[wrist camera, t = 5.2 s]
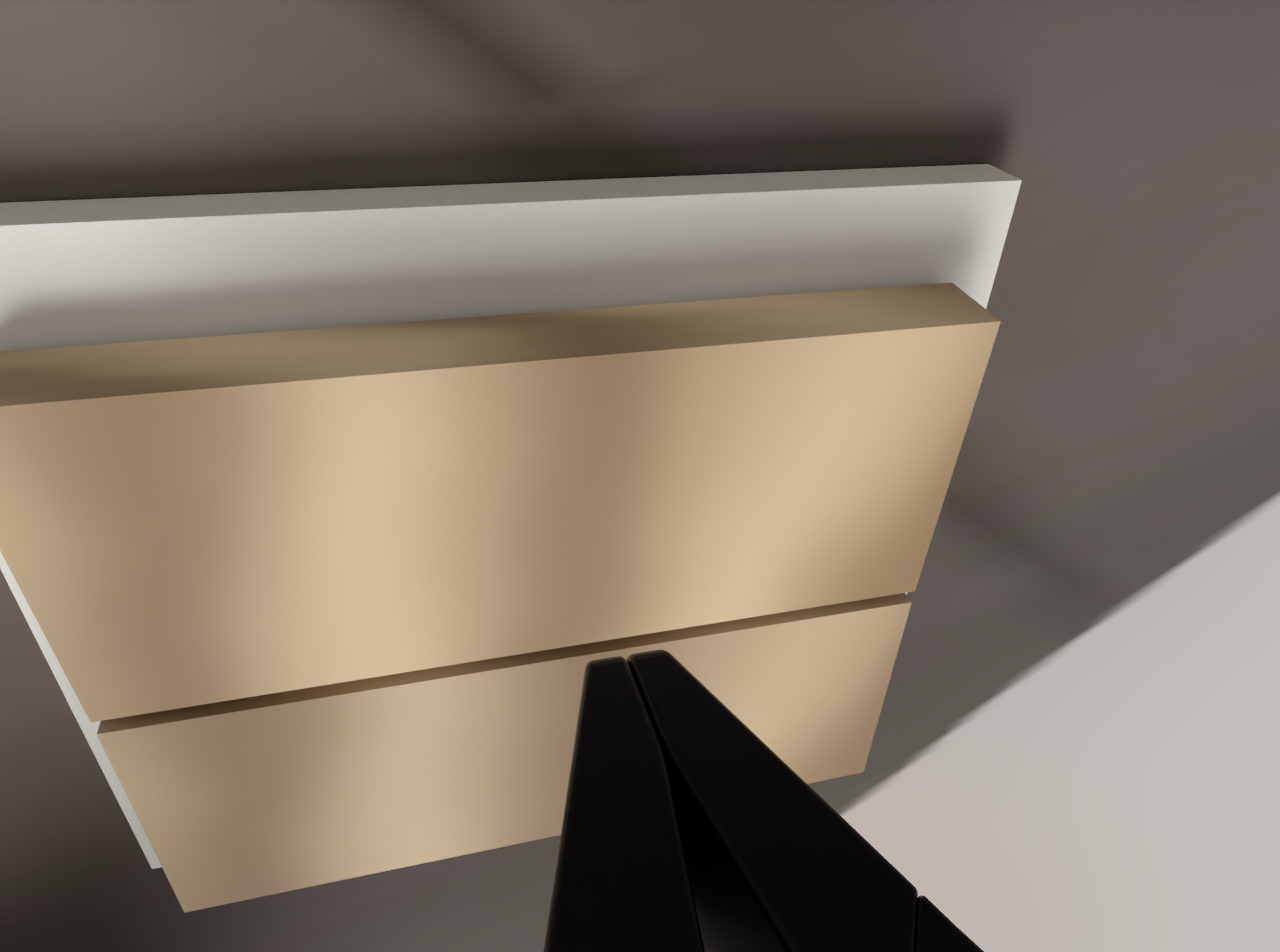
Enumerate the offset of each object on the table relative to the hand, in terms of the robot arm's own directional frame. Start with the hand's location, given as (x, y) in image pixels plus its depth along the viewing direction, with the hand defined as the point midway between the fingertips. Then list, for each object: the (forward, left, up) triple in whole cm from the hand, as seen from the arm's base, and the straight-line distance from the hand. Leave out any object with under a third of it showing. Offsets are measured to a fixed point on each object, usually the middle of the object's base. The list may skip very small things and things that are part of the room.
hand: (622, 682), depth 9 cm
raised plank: (0, -2, -7) cm, 7 cm away
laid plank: (0, -8, -7) cm, 10 cm away
